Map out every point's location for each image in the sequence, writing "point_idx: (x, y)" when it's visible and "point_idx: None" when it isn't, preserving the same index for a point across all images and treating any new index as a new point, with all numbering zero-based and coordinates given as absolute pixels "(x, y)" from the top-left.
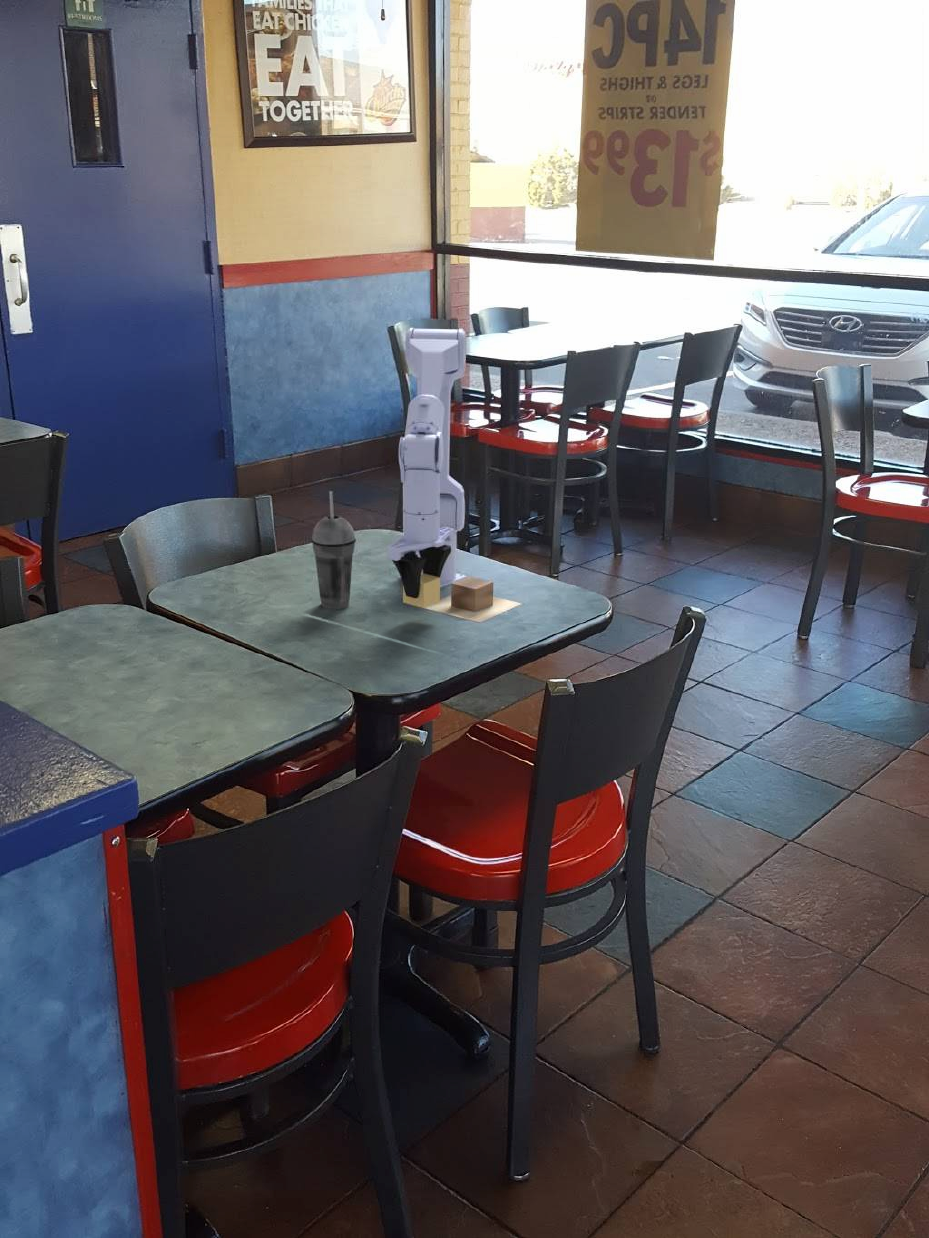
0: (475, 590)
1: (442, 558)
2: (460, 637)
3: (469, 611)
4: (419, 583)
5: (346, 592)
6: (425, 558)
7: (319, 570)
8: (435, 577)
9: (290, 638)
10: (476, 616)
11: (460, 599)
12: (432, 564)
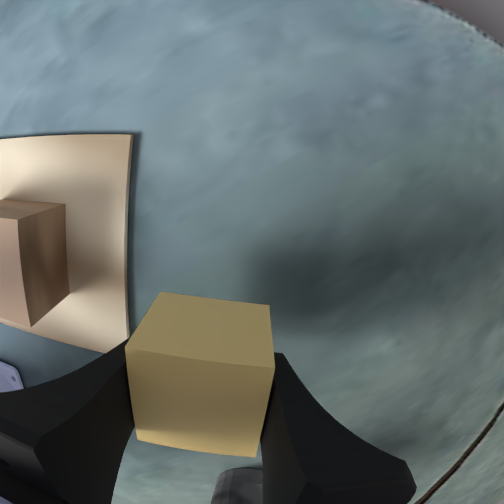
0: (20, 219)
1: (62, 412)
2: (273, 125)
3: (69, 223)
4: (281, 386)
5: (247, 498)
6: (106, 475)
7: None
8: (139, 366)
9: (434, 440)
10: (90, 177)
11: (51, 270)
12: (105, 429)
